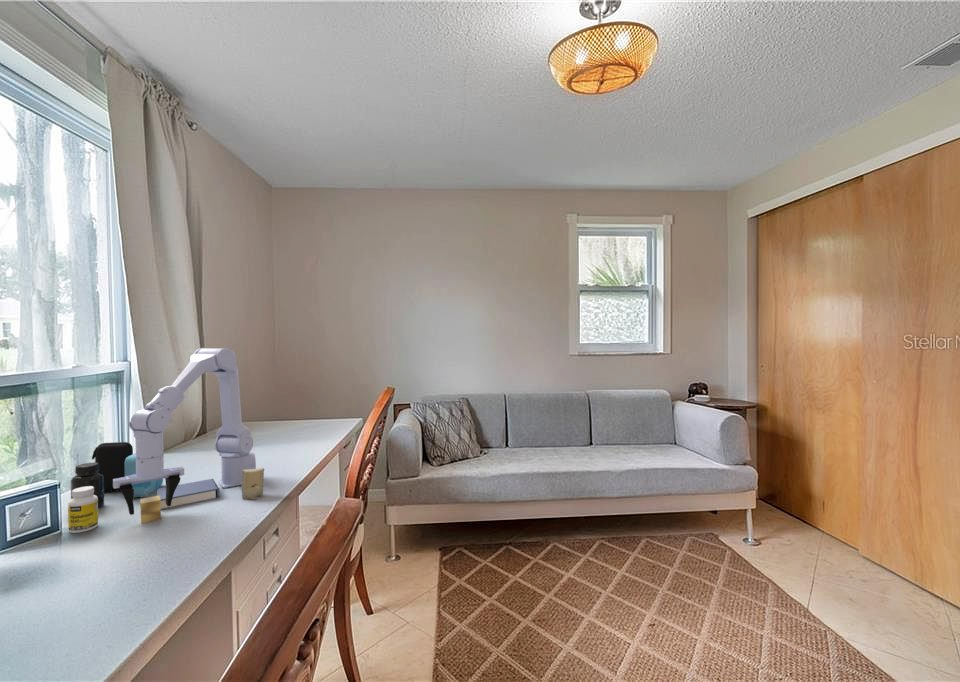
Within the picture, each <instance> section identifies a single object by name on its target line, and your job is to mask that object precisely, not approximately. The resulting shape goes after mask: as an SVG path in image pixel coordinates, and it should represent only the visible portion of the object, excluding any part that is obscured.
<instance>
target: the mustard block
mask: <svg viewBox="0 0 960 682" xmlns="http://www.w3.org/2000/svg"><path fill="white" fill-rule="evenodd" d="M158 519H159V520H161V519H162V510H161V499H160V496H157V495H155V496H149V497H143V498H140V524H145V523H149V521H150V522H154V520H155V521H158Z"/></svg>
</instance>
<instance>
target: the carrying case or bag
mask: <svg viewBox="0 0 960 682" xmlns="http://www.w3.org/2000/svg"><path fill="white" fill-rule="evenodd" d="M133 449H134V448H133V445H132V444H131V443H130V442H127V441H123V442H122V441H119V442H118V441H117V442H116V441H115V442H102V443H100V444H98V446H96V447H95V449H94V450H93V453H92V457H91V460H92V461H93V460H94V462H97V463H99V470H98V472H101V473H102V474H103V475H104V493H108V492H109V493H110V491H112V492H121V491H120V489H119V488H116V489H114V488H113V479H117V478H121V477H125V459H126V458H127V457H128V456H130V455H133V454H134V450H133Z"/></svg>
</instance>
